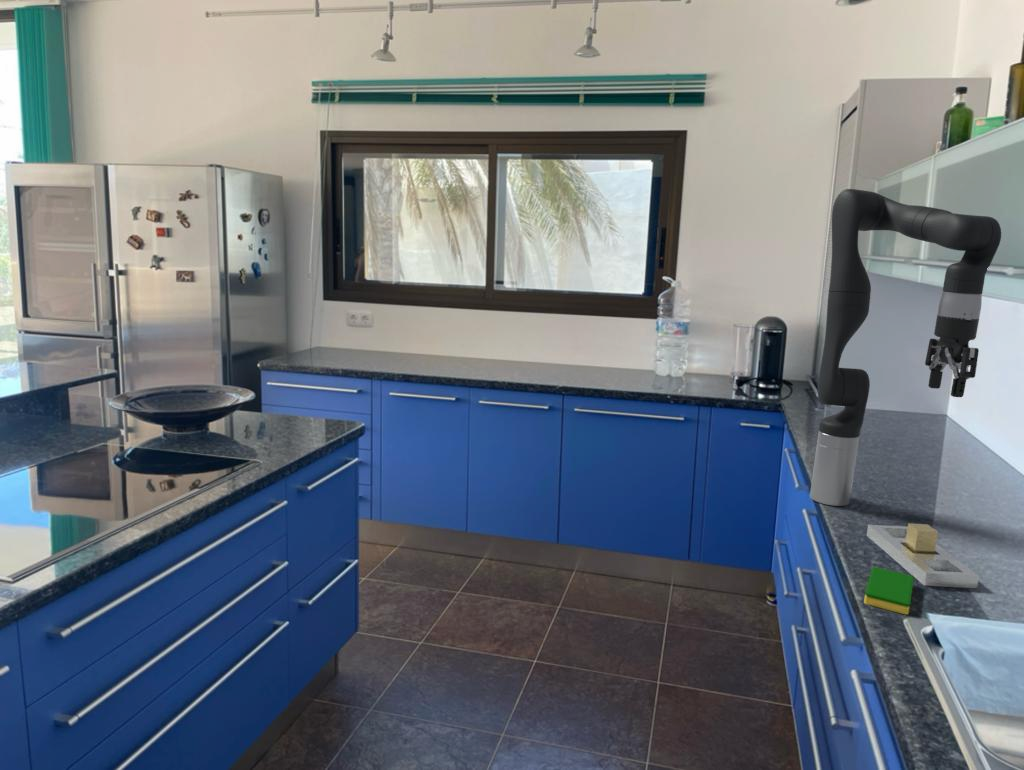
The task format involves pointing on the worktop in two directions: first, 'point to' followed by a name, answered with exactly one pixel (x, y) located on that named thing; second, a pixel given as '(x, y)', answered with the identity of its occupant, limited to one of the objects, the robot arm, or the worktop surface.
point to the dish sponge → (889, 590)
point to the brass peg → (921, 539)
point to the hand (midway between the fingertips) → (945, 392)
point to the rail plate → (923, 559)
